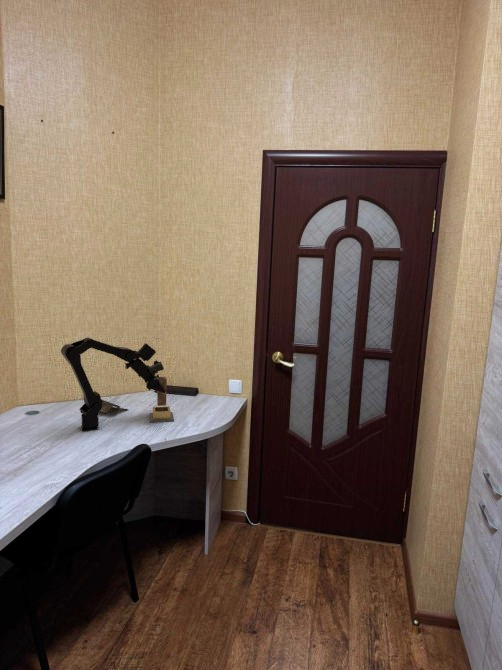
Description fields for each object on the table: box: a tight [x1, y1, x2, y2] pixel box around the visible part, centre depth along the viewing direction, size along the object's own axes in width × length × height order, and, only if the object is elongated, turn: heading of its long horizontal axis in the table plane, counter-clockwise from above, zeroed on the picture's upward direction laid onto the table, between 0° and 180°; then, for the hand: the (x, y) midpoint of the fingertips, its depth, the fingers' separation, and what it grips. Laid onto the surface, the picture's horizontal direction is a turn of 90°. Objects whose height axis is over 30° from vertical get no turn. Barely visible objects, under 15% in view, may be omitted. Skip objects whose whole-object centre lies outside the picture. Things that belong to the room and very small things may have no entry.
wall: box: [99, 398, 122, 414], centre depth 222 cm, size 16×9×15 cm
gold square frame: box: [149, 405, 175, 423], centre depth 216 cm, size 11×11×4 cm
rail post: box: [156, 376, 168, 407], centre depth 215 cm, size 4×4×13 cm
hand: (164, 390), depth 215 cm, fingers closed on rail post, 4 cm apart
